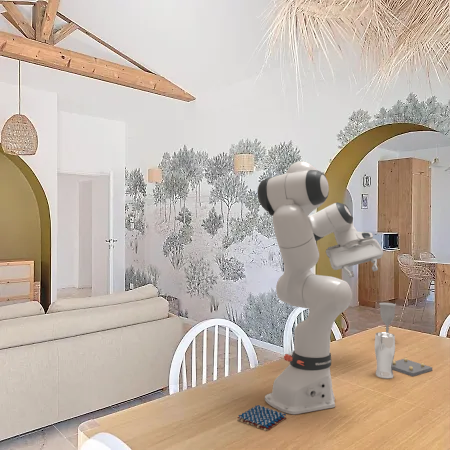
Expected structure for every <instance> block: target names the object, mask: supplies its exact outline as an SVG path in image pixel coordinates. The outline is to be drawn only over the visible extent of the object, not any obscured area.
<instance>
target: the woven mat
mask: <svg viewBox="0 0 450 450" xmlns="http://www.w3.org/2000/svg"><path fill="white" fill-rule="evenodd" d="M286 416H287V413H284V412H282V411H279V412H278V410H274V409H272V408H269V407H265V406H263V405H259V404H258V405H255V406H254V407H251V408H250V409H248V410H246V411H244V412H241V414H238V416H237V419H238V420H237V422H241V423H243V424H244V425H250V426H252V427H254V428H256V429H259V430H260V431H262V430H263V431H264V432H267V431H269V430H271V429H272V428H273V427H275V426H277V425H279V423H281V422H283V421H284V420H286V419H287V417H286Z"/></svg>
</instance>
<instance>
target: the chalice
mask: <svg viewBox="0 0 450 450" xmlns="http://www.w3.org/2000/svg"><path fill="white" fill-rule="evenodd" d="M378 304H379V306H380V310H379V311H380V312H379V313H380V317H381V320H382V323H383V324H384V325H385V332H386V333H390V332H389V330H390V327H389V325H391V324H392V323H393V321H394V319H395V315H396V313H395V312H396V310H395V309H396V306H397V304H396V303H392V302H379V303H378Z"/></svg>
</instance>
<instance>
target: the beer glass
mask: <svg viewBox="0 0 450 450" xmlns="http://www.w3.org/2000/svg"><path fill="white" fill-rule="evenodd" d="M374 337H375V338H374V353H375V359H376V370H375V376H376V377H378V378H381V379H393V378H394V370H392V365H393V361H394V357H395V355H396V354H395V353H396V338H395V334H394V333H390V332H389V333H386V331H383V332H382V331H380V332H376V333H375V335H374Z"/></svg>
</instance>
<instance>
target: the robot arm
mask: <svg viewBox="0 0 450 450" xmlns="http://www.w3.org/2000/svg"><path fill="white" fill-rule="evenodd" d="M329 190H330V187H329V182H328V179H327V176H326V174H325V173H323V172H322V171H321V170H318V169H317V168H316V167H314V165H312V164H311V163H309V162H306V161H302V160H301V161H299V160H298V161H296V162H293V163H292V164H291V165H290V166H289V167H288V168H287V171H286V173H282V174H279V175H275V176H273V177H272V176H269V177H267V178H265V179H263V180H261V181H260V182H259V184H258V186H257V193H256V194H257V198H258V201H259V204H260V206H261V207H262V208H263V210H265V211H266V212H267V213H268V214H269V215H270V216H272V222H273V231H274V235H275V239H276V241H277V245H278V249H279V251H280V255H281V258H282V262H283V265H284V266H283V267H284V270H283V274H282V275H281V276H280V277H279V278H278V281H277V283H276V286H275V288H276V289H275V291H276V295H277V298H278V299H279V300H280V301H281V302H282V303H285V304H287V305H290V306H292V307H297V308H302V309H308V316H307V318H306V319H305V320H301V321H300V322H299V323H298V324H297V325H296V326H295V328H294V343H293V344H294V347H293V349H294V350H293V352H292V354H291V355H290V354H287V353H284V356H283V360H284V361H287V362H289V365H288V366H287V367H286V368H285V369H284V370H283V371H282V372H281V373H280V374H279V375H277V377H276V378H275V379H274V381H273V386H272V391H271V392H270V393H268V394H265V396H264V401H265V402H266V403H267V404H268V405H269V406H271V407H272V408H275V409H276V410H277V411H279V412H282V413H284V414H289V415H299V414H304V413H305V414H306V413H309V412H316V411H320V410H321V411H323V410H326V409H331V408H335V407H336V402H335V400H336V398H335V394H334V390H333V382H332V376H331V373H332V372H331V366H332V354H331V352H330V351H331V333H332V329H333V328H332V327H333V325H334V324H335V323H334V322H335V320H336V319H337V318H338V316H340V314H342V313H344V312H345V311H346V310H347V309H348V308H349V307H350V306H351V303H352V299H353V291H352V288H351V286H350V285H349V282H348V281H346V280H343V279H341V278H338V277H334V276H330V275H329V276H328V275H321V274H314V273H313V272H312V270H311V269H313V268H314V267H315V266H316V265H317V263H318V261H319V259H320V251H319V247H318V244H317V242H318V241H320V240H321V239H323V238H325V237H326V236H328V235H330V234H334V238H335V241H336V243H337V244H334V245H332V246H328V247H327V248H326V250H325V254H326V256H327V258H329V263H330V267H331V268H332V269H333V270H334V271H337V270H341V269H342V271H343V272H344V273H346V274H347V275H348V277H349V279H350V278H354V277H355V273H354V271H350V270H349V267H353V266H357V265H360V264H361V265H362V264H365V263H369V262H371V263H372V267H371V269H372V272H376V271H378V270H379V268H378V266H377V263H378V260H379V259H382V257H383V256H384V254H385V253H384V250H383V248H382V246H381V244H380V243H379V241H378V240H377V239H376V238H373V237H374V234H373V233H372V232H367V231H366V232H364V231H358V230H357V229H356V227H355V226H354V222H353V221H354V217H353V215H352V213H351V210H350V208H349V207H348V206H347V205H346V204H344V203H342V202H334V203H332V204H329V205H328V206H326V207H324V208H323V209H320V210H318V211H317V212H315V213H313V212H314V211H315V210H317V209H318V208H319V207H321V206H322V205H323V204H324V203H325V202H326V201H327V199H328V196H329V192H330V191H329ZM311 213H312V214H311Z"/></svg>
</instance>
